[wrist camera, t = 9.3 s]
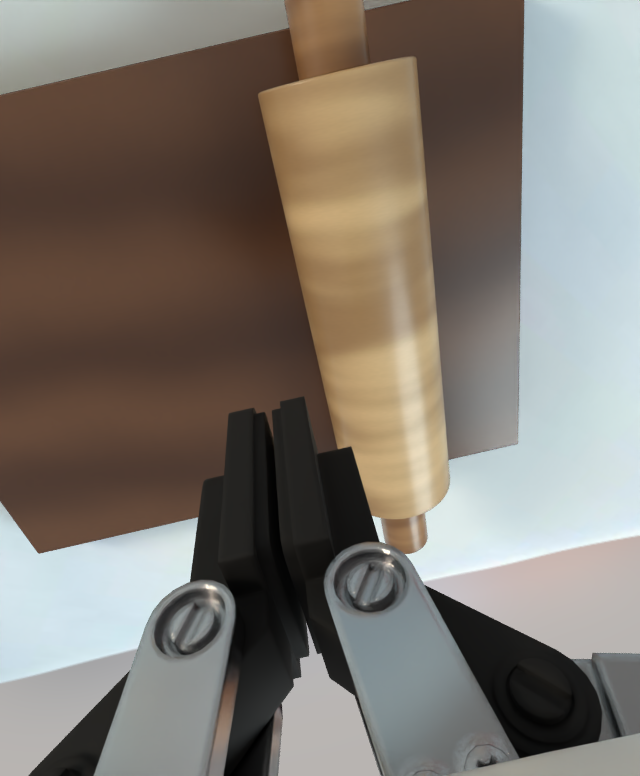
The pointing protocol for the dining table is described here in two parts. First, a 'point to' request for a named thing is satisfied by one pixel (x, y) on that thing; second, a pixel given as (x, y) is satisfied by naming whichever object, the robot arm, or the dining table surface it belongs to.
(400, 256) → the rolling pin
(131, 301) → the pastry board
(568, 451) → the dining table surface
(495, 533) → the dining table surface
